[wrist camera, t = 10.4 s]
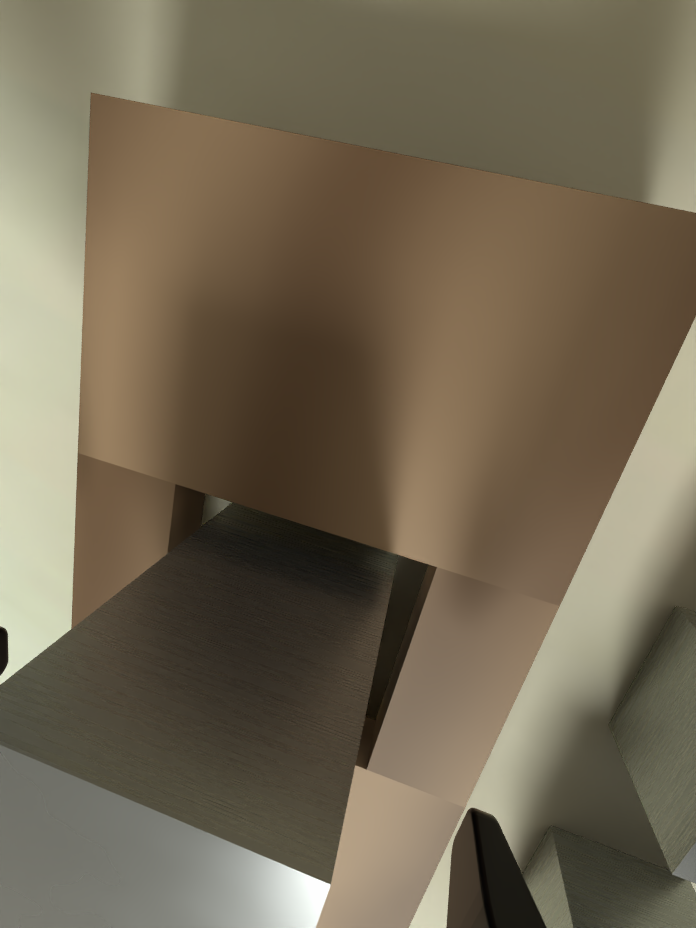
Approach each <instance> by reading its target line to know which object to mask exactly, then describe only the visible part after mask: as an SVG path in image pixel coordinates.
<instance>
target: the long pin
mask: <svg viewBox="0 0 696 928" xmlns="http://www.w3.org/2000/svg"><path fill="white" fill-rule="evenodd" d="M397 559H398V555H397V554H394V553H391V552H388V551H385V550H382V549H378V548H375V547H372V546H369V545H366V544H363V543H360V542H356V541H353V540H350V539H347V538H344V537H341V536H338V535H334V534H331V533H328V532H325V531H322V530H319V529H315V528H312V527H309V526H306V525H303V524H300V523H297V522H293V521H290V520H287V519H284V518H281V517H278V516H275V515H271V514H268V513H265V512H262V511H259V510H256V509H253V508H249V507H246V506H243V505H240V504H237V503H234V502H233V503H231V504H230V505H229V506H227V507H226V508H225V509H224V510H222V511H221V512H220V513H219V514H217V515H216V516H215V517H213V518H212V519H211V520H210V521H208V522H207V523H206V524H205V525H203V526H202V527H201V528H199V529H198V530H197V531H196V532H194V533H193V534H192V535H191V536H189V537H188V538H187V539H185V540H184V541H183V542H182V543H180V544H179V545H178V546H177V547H175V548H174V549H173V550H171V551H170V552H169V553H168V554H166V555H165V556H164V557H163V558H161V559H160V560H159V561H157V562H156V563H155V564H154V565H152V566H151V567H150V568H149V569H147V570H146V571H145V572H143V573H142V574H141V575H140V576H138V577H137V578H136V579H135V580H133V581H132V582H131V583H129V584H128V585H127V586H126V587H124V588H123V589H122V590H121V591H119V592H118V593H117V594H115V595H114V596H113V597H112V598H110V599H109V600H108V601H107V602H105V603H104V604H103V605H102V606H100V607H99V608H98V609H96V610H95V611H94V612H93V613H91V614H90V615H89V616H88V617H86V618H85V619H84V620H82V621H81V622H80V623H79V624H77V625H76V626H75V627H74V628H72V629H71V630H70V631H68V632H67V633H66V634H65V635H63V636H62V637H61V638H60V639H58V640H57V641H56V642H54V643H53V644H52V645H51V646H49V647H48V648H47V649H46V650H44V651H43V652H42V653H40V654H39V655H38V656H37V657H35V658H34V659H33V660H32V661H30V662H29V663H28V664H26V665H25V666H24V667H23V668H21V669H20V670H19V671H18V672H16V673H15V674H14V675H12V676H11V677H10V678H9V679H7V680H6V681H5V682H4V683H2V684H1V685H0V928H316V925H317V922H318V920H319V917H320V914H321V911H322V908H323V905H324V903H325V900H326V897H327V894H328V891H329V888H330V885H331V881H332V876H333V871H334V866H335V862H336V857H337V852H338V847H339V842H340V837H341V832H342V827H343V823H344V818H345V813H346V808H347V803H348V798H349V793H350V788H351V784H352V779H353V774H354V769H355V764H356V759H357V754H358V749H359V744H360V740H361V735H362V730H363V725H364V720H365V715H366V710H367V705H368V701H369V696H370V691H371V686H372V681H373V676H374V671H375V666H376V662H377V657H378V652H379V647H380V642H381V637H382V632H383V627H384V623H385V618H386V613H387V608H388V603H389V598H390V593H391V588H392V583H393V579H394V574H395V569H396V564H397Z"/></svg>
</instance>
